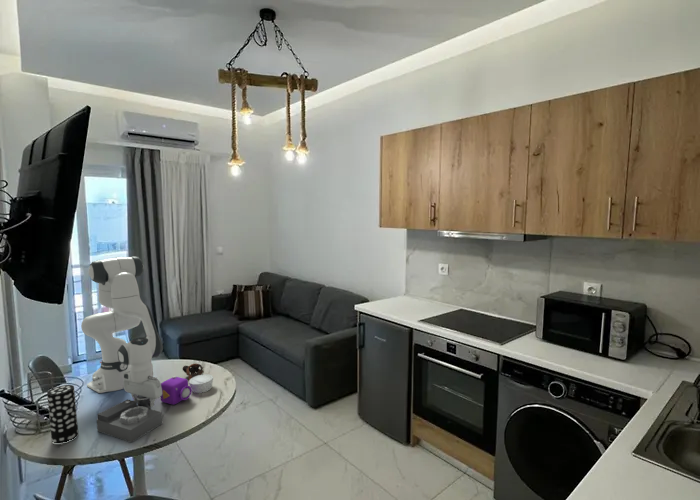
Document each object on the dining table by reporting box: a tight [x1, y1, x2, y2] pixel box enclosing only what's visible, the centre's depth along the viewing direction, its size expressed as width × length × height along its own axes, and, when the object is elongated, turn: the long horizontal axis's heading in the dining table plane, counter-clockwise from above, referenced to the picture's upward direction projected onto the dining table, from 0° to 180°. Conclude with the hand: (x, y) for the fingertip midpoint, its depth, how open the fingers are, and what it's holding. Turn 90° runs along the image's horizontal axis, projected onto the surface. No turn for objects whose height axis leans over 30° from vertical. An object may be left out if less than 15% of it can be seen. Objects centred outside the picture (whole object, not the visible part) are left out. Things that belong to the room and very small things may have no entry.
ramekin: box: [188, 373, 214, 394], centre depth 187 cm, size 11×11×5 cm
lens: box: [137, 395, 152, 409], centre depth 167 cm, size 5×5×7 cm
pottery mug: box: [182, 362, 204, 381], centre depth 200 cm, size 12×10×8 cm
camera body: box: [96, 399, 163, 443], centre depth 154 cm, size 20×14×8 cm
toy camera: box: [159, 375, 193, 405], centre depth 175 cm, size 11×14×10 cm
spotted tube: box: [46, 384, 79, 443], centre depth 146 cm, size 8×8×20 cm
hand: (144, 404), depth 167 cm, fingers open, 8 cm apart
